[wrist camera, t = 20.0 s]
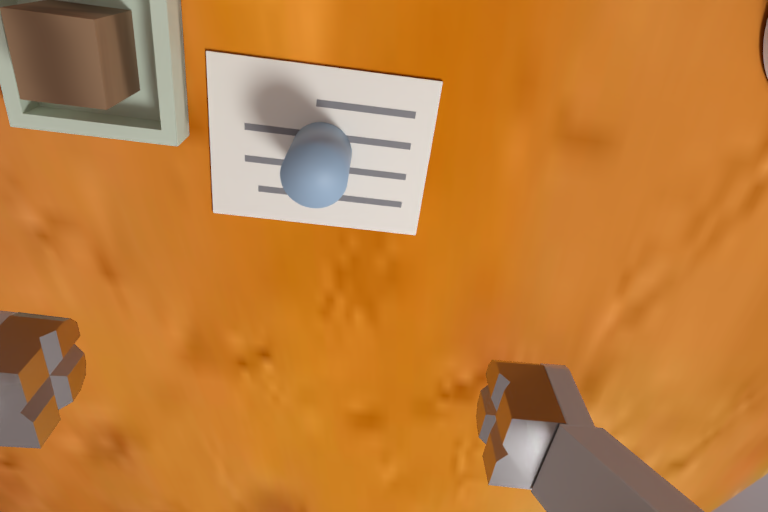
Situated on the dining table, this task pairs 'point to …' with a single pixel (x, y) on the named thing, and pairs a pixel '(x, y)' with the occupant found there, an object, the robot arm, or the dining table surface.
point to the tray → (134, 114)
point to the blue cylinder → (317, 165)
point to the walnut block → (72, 53)
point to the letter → (309, 105)
